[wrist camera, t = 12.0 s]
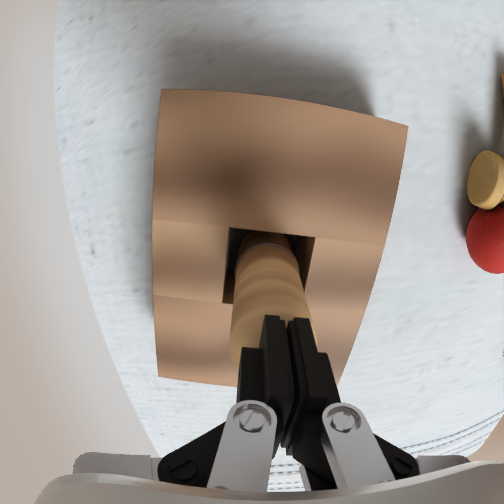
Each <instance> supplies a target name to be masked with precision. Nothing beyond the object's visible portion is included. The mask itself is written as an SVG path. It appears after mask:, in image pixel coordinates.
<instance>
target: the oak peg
mask: <svg viewBox="0 0 504 504" xmlns="http://www.w3.org/2000/svg"><path fill="white" fill-rule="evenodd" d="M235 279H236V281H235V290H234V300H233V309H232V318H231V328H230V338H229V353H230V356H231V359H232V360H233V362H234V363H235V365H236V366H237V367H238V368H239V362H240V355H241V348H242V347H250V348H259V343H260V338H261V332H262V326H263V320H264V316H265V314H266V315H277V316H280V320H285V324H286V328H287V324H288V321H289V320H291V321H293V319H294V317H300V318H309V319H310V323H311V327H312V331H313V334H314V338H315V342H316V346H317V337H316V333H315V330H314V326H313V322H312V319H311V315H310V311H309V308H308V304H307V301H306V297H305V294H304V290H303V287H302V283H301V280H300V276H299V267H298V263H297V260H296V258H295V256H294V255H293V252H292V249H291V246H290V243H289V241H288V239H287V238H286V237H285V236H284V235H283V234H282V233H276V232H268V231H259V230H250V231H249V233H248V234H247V235H246V236H245V237H244V239H243V240H242V242H241V244H240V247H239V254H238V260H237V262H236V266H235Z"/></svg>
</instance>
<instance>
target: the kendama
mask: <svg viewBox="0 0 504 504" xmlns="http://www.w3.org/2000/svg"><path fill="white" fill-rule="evenodd" d="M502 85H503V97H504V73H503V74H502ZM467 193H468V197H469V200H470V201H471V203H472V204H474V205H475V206H477V207H479V208H480V209H478V210H477V211H476V212H475V213H474V215H473V216H472V218H471V220H470V222H469V224H468V228H467V233H466V243H467V248H468V252H469V254H470V256H471V258H472V259H473V261H474V262H475V263H476V264H477V265H478V266H479V267H480V268H482V269H483V270H485V271H487V272H490V273H495V274H499V273H504V159H503V158H502V157H501V156H500V155H498V154H496V153H494V152H492V151H489V150H485V151H482V152H481V153H480V154H478V155H477V157H476V158H475V159H474V161H473V163H472V165H471V168H470V170H469V174H468V179H467Z"/></svg>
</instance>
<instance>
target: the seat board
mask: <svg viewBox="0 0 504 504" xmlns="http://www.w3.org/2000/svg"><path fill="white" fill-rule="evenodd" d="M407 132H408V126H406V125H403V124H400V123H396V122H393V121H389V120H386V119H382V118H378V117H374V116H371V115H367V114H362V113H358V112H354V111H350V110H345V109H341V108H336V107H331V106H326V105H321V104H316V103H310V102H305V101H299V100H293V99H286V98H279V97H272V96H264V95H256V94H247V93H237V92H225V91H211V90H192V89H161V98H160V106H159V116H158V126H157V138H156V151H155V165H154V184H153V212H152V281H153V309H154V327H155V342H156V355H157V367H158V377H164V378H170V379H177V380H183V381H190V382H198V383H206V384H214V385H223V386H233V387H237V384H238V371H239V368H238V367H237V366H236V365H235V363H234V362H233V360H232V359H231V356H230V353H229V338H230V328H231V318H232V309H233V300H234V290H235V281H236V279H235V270H227V269H228V259H229V249H230V239H231V229H232V228H241V229H250V230H259V231H268V232H276V233H285V234H293V235H299V238H298V244H297V249H296V255H295V258H296V260H297V263H298V267H299V276H300V280H301V283H302V287H303V290H304V294H305V297H306V301H307V304H308V308H309V311H310V315H311V319H312V322H313V326H314V330H315V333H316V337H317V350H318V352H326V353H327V354H328V357H329V360H330V364H331V367H332V371H333V375H334V378H335V382H336V386H337V385H338V383H339V380H340V378H341V376H342V373H343V371H344V368H345V365H346V363H347V360H348V358H349V355H350V352H351V350H352V347H353V344H354V342H355V339H356V336H357V333H358V330H359V328H360V325H361V322H362V319H363V316H364V313H365V310H366V307H367V304H368V301H369V298H370V294H371V291H372V288H373V285H374V281H375V278H376V274H377V271H378V268H379V264H380V260H381V257H382V253H383V249H384V246H385V242H386V238H387V234H388V230H389V226H390V221H391V217H392V213H393V208H394V204H395V199H396V194H397V190H398V185H399V180H400V174H401V169H402V163H403V158H404V152H405V145H406V139H407Z"/></svg>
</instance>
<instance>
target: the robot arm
mask: <svg viewBox="0 0 504 504" xmlns="http://www.w3.org/2000/svg"><path fill="white" fill-rule="evenodd" d="M279 444H281V447H282V448H286V455H293V458H294V459H295V460H297V461H298V462H299V471H300V474H301V477H302V481H303V484H304V488H305V491H302V492H267V486H268V480H269V474H270V467H271V461H272V459H273V458H274V457H275V454H276V452H277V449H278V446H279ZM35 504H504V462H500V461H489V460H486V461H475V462H470V461H469V460H468V459H467V458H465V457H464V456H460V455H448V456H418V457H417V458H414V457H413V456H411V455H410V454H408V453H407V452H405V451H403V450H401V449H399V448H398V447H396V446H394V445H392V444H391V443H389V442H387V441H385V440H384V439H382V438H380V437H379V436H377V435H375V434H374V433H373V432H372V430H371V428H370V426H369V424H368V422H367V420H366V418H365V416H364V415H363V413H362V412H361V411H360V410H359V409H358V408H357V407H355V406H353V405H351V404H347V403H341V401H340V397H339V393H338V389H337V386H336V382H335V378H334V375H333V371H332V367H331V364H330V360H329V357H328V354H327V353H326V352H318V350H317V346H316V342H315V338H314V334H313V331H312V327H311V323H310V319H309V318H300V317H294V319H293V321H291V320H289V321H288V324H287V328H286V324H285V320H280V316H277V315H266V314H265V316H264V320H263V326H262V332H261V338H260V343H259V348H250V347H242V348H241V355H240V362H239V371H238V384H237V402H236V404H235V405H234V406H233V407H232V408H231V409H230V411H229V413H228V416H227V420H226V421H225V422H224V423H222V424H221V425H219V426H217V427H216V428H214V429H212V430H210V431H209V432H207V433H205V434H204V435H202V436H200V437H198V438H197V439H195V440H193V441H191V442H190V443H188V444H186V445H184V446H182V447H180V448H179V449H177V450H175V451H173V452H171V453H169V454H167V455H166V456H165V457H163V458H151V456H150V455H124V454H108V453H97V452H90V453H85V454H82V455H80V456H79V457H78V458H77V459H76V460H75V463H74V466H73V474H70V475H64V476H61V477H58V478H56V479H54V480H52V481H51V482H50V483H48V484H47V485H46V487H45V488H44V489H43V490H42V492H41V493H40V495H39V496H38V498H37V500H36V502H35Z"/></svg>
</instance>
